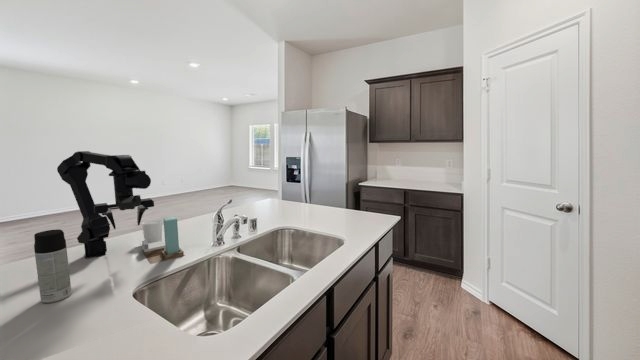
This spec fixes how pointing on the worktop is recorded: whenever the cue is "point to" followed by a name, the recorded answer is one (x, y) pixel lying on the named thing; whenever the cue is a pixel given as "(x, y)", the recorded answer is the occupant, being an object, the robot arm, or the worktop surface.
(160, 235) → the white cup
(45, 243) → the spray can
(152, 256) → the board
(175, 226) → the block
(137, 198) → the robot arm
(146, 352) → the worktop surface
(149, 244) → the lid
